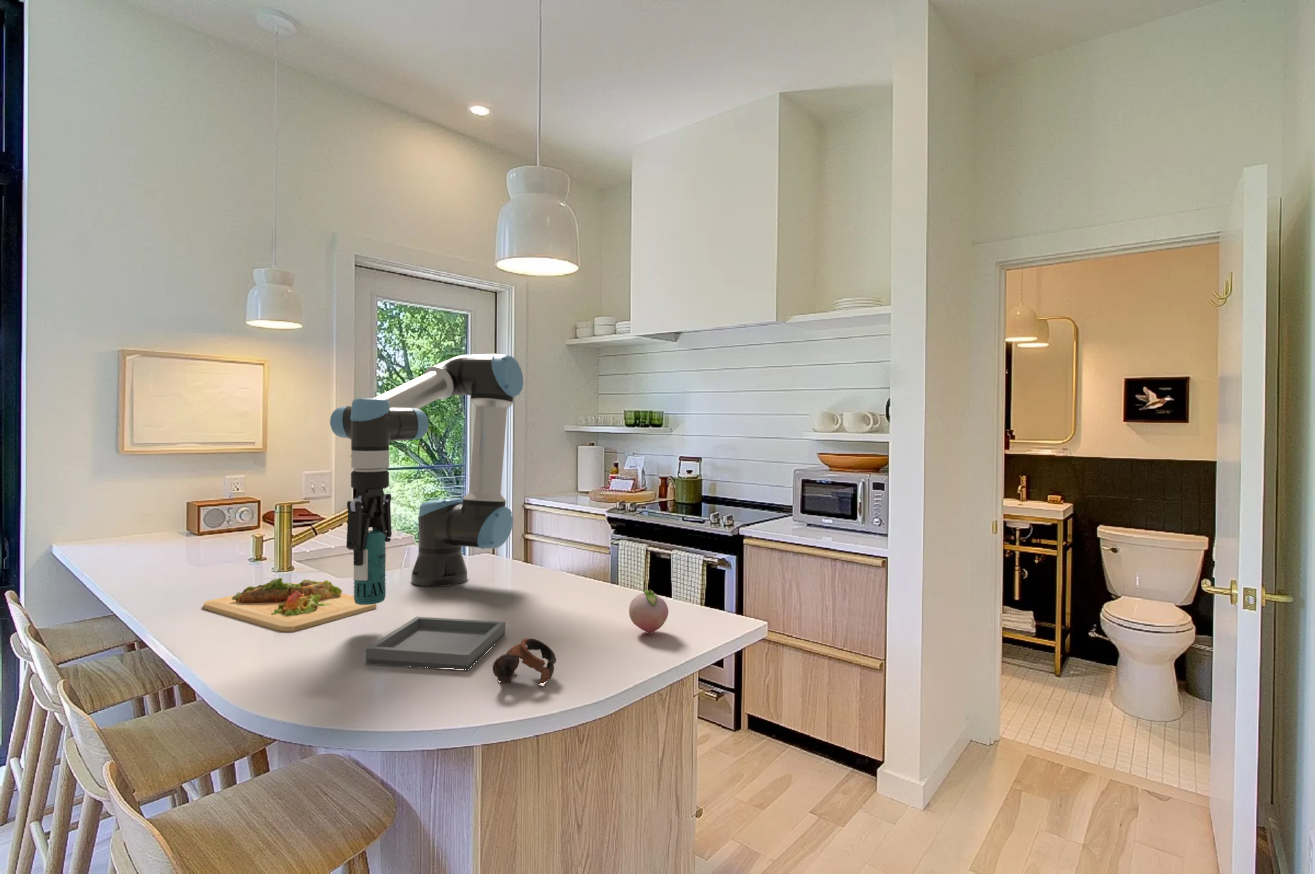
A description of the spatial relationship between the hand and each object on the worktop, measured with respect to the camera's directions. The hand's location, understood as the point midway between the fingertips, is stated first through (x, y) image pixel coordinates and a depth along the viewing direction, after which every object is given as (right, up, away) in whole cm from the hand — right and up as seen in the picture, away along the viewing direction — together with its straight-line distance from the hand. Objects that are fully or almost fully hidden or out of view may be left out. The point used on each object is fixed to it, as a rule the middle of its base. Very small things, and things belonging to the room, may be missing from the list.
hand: (369, 575), depth 141 cm
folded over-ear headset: (+38, -14, -25) cm, 48 cm away
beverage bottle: (0, -7, 0) cm, 7 cm away
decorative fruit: (+60, -14, +2) cm, 62 cm away
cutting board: (-26, -12, +15) cm, 32 cm away
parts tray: (+19, -13, -10) cm, 25 cm away
